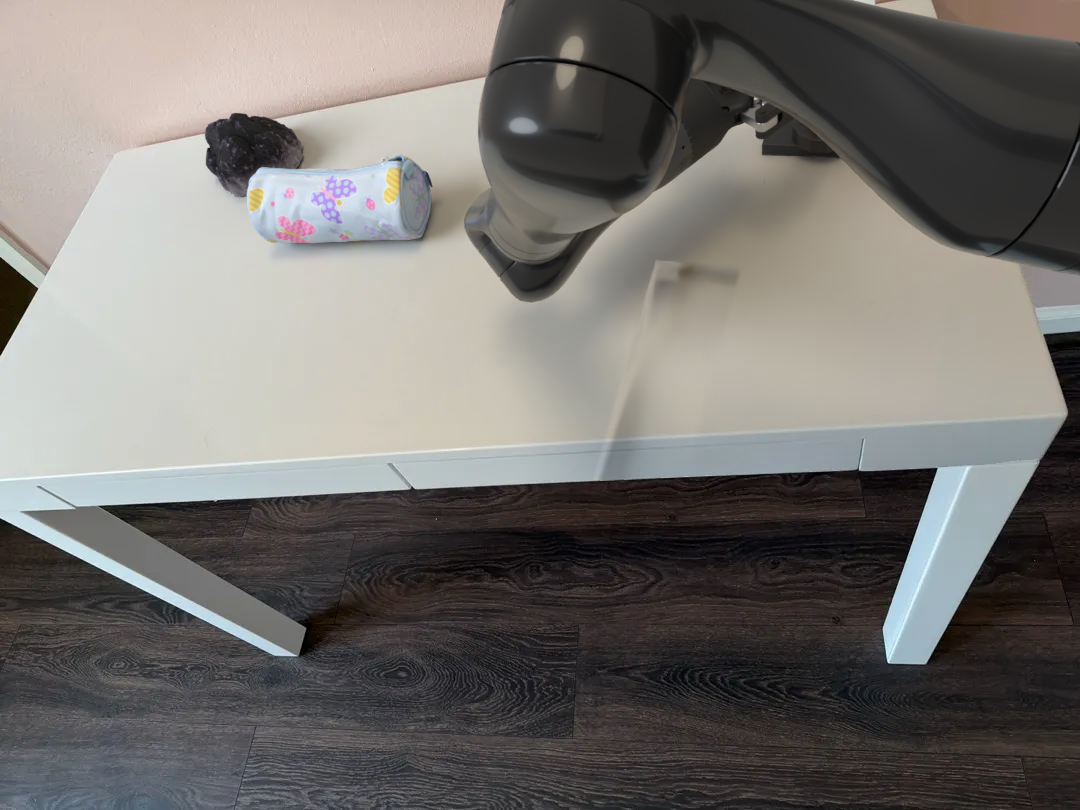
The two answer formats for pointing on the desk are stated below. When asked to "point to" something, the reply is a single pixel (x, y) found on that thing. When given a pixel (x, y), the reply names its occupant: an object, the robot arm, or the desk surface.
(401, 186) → the pencil case
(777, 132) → the scale
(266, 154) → the crystal cluster
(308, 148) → the desk surface
